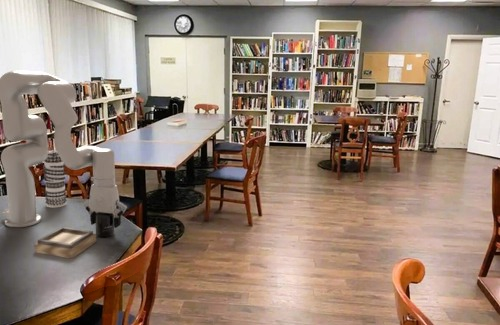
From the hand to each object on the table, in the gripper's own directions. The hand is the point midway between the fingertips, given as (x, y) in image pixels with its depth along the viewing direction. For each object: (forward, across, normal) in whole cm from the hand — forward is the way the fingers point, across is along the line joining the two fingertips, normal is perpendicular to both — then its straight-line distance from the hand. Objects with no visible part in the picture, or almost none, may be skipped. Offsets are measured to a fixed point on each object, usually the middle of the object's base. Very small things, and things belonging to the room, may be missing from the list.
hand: (105, 224), depth 144 cm
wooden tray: (+4, -7, -13) cm, 15 cm away
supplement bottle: (+4, 0, 0) cm, 5 cm away
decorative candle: (+4, -39, +23) cm, 46 cm away
